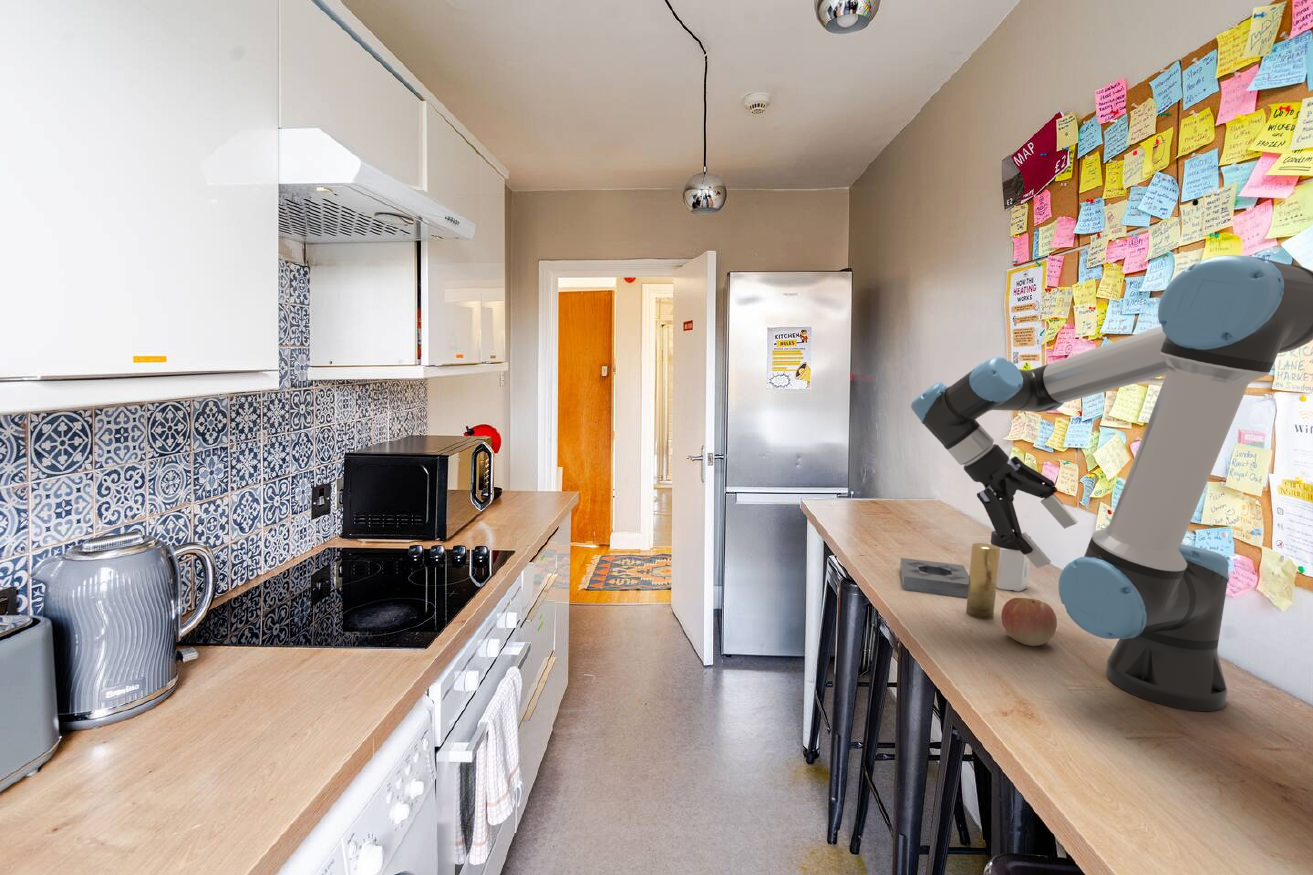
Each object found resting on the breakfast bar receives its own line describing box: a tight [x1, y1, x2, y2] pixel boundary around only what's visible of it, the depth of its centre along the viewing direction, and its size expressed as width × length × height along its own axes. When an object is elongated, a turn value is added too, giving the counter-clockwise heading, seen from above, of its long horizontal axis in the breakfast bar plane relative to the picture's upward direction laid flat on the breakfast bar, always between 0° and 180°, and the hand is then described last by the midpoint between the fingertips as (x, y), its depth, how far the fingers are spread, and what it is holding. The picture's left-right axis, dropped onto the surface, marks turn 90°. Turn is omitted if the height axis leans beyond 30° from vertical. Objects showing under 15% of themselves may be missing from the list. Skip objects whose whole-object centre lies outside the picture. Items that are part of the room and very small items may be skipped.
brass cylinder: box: [965, 542, 1000, 620], centre depth 136 cm, size 5×5×14 cm
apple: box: [1000, 597, 1058, 647], centre depth 123 cm, size 9×9×8 cm
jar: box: [988, 530, 1032, 592], centre depth 156 cm, size 9×8×12 cm
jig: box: [899, 557, 970, 599], centre depth 155 cm, size 16×14×3 cm
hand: (1058, 544), depth 125 cm, fingers open, 13 cm apart
